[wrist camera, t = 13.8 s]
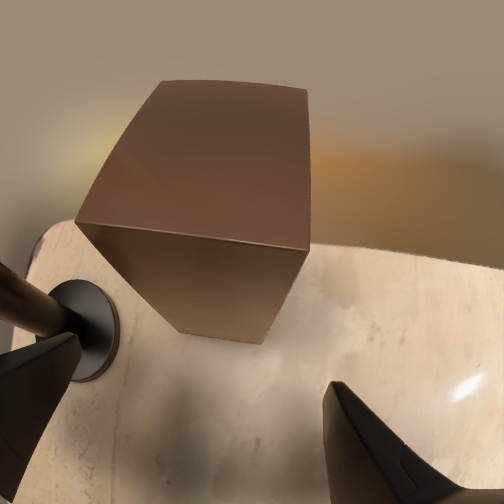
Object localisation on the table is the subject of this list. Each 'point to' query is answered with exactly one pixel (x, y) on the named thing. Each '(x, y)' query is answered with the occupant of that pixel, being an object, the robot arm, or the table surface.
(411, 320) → the table surface
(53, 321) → the edge post
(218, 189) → the walnut block
